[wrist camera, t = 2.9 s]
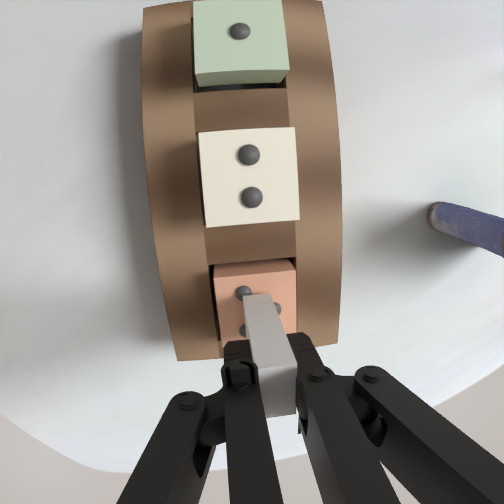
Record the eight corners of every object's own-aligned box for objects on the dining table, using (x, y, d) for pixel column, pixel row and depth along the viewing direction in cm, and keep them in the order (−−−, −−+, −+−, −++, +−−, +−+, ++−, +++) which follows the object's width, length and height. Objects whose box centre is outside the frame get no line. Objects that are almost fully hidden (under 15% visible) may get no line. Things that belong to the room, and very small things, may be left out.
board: (152, 26, 15) (143, 8, 13) (309, 19, 16) (321, 1, 13) (182, 338, 22) (177, 361, 19) (324, 323, 23) (337, 343, 20)
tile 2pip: (202, 138, 15) (198, 132, 13) (284, 132, 16) (295, 126, 13) (208, 218, 17) (206, 228, 14) (288, 212, 17) (300, 220, 14)
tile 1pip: (196, 21, 13) (193, 0, 11) (273, 18, 14) (281, -3, 11) (198, 87, 15) (194, 73, 12) (280, 82, 15) (290, 69, 12)
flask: (423, 226, 21) (524, 267, 11) (432, 191, 21) (537, 216, 10) (483, 250, 23) (564, 287, 13) (491, 222, 22) (575, 251, 12)
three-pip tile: (214, 263, 19) (213, 278, 16) (286, 256, 19) (296, 270, 16) (222, 327, 20) (222, 348, 17) (288, 319, 20) (296, 340, 18)
